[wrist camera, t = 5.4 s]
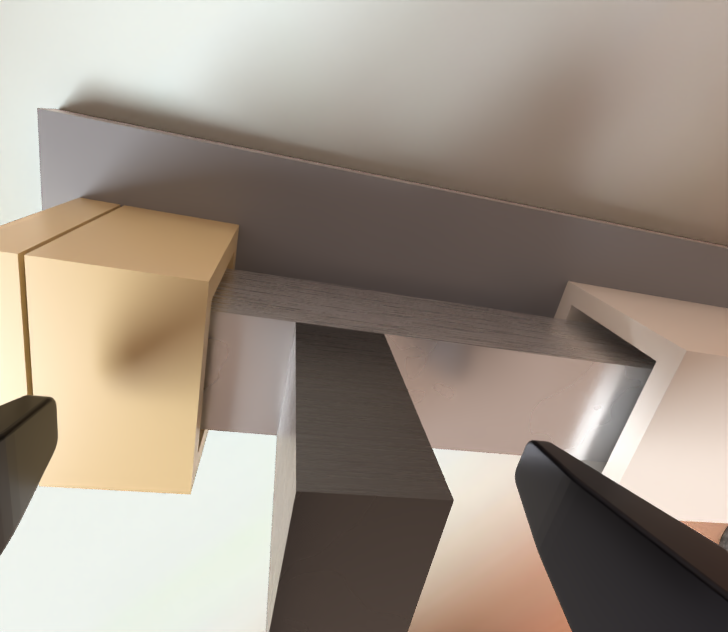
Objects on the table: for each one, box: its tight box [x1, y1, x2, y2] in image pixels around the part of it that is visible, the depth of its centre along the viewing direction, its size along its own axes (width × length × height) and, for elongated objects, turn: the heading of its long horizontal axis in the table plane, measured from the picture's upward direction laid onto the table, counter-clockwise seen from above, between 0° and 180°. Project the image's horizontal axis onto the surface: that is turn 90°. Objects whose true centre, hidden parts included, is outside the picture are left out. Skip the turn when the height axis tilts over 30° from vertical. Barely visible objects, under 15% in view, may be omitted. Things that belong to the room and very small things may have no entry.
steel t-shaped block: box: [200, 268, 656, 632], centre depth 10 cm, size 3×17×8 cm, turn 78°
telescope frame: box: [0, 108, 728, 523], centre depth 14 cm, size 9×29×6 cm, turn 78°
